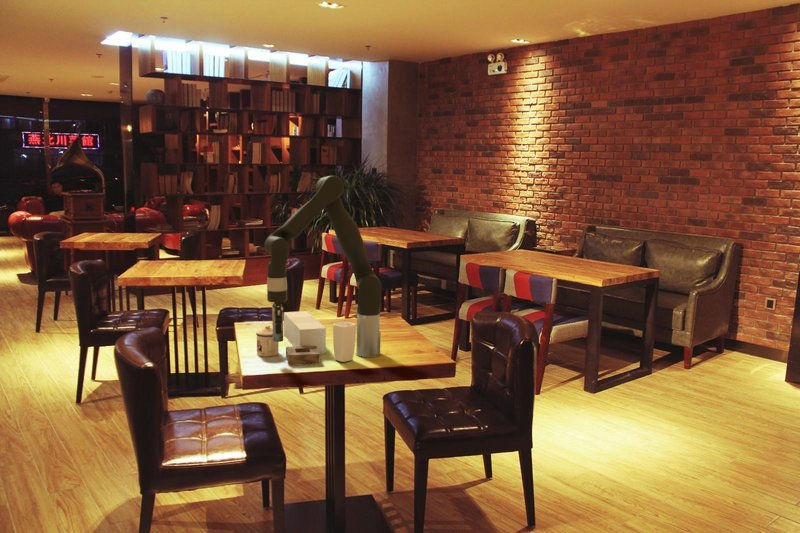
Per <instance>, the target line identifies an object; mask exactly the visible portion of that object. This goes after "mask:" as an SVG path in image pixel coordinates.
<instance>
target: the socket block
mask: <svg viewBox="0 0 800 533" xmlns="http://www.w3.org/2000/svg"><path fill="white" fill-rule="evenodd" d="M285 358H286V361H288V362H287V364H288V366H300V365H302V366H305V365H306V364H307V365H320V364H321V363H320V362H321V353H319V351H318V349H317V347H316V346H294V347H293V346H285Z"/></svg>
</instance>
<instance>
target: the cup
mask: <svg viewBox="0 0 800 533" xmlns="http://www.w3.org/2000/svg"><path fill="white" fill-rule="evenodd" d="M356 335H357V323H353V322H350V321H339V322H334V323H333V324H332V339H333V340H332V341H333V342H332V344H333V355H334V359H335V360H336V361H338V362H339V363H347V362H351V361H353V360H354V354H355V347H356Z"/></svg>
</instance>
